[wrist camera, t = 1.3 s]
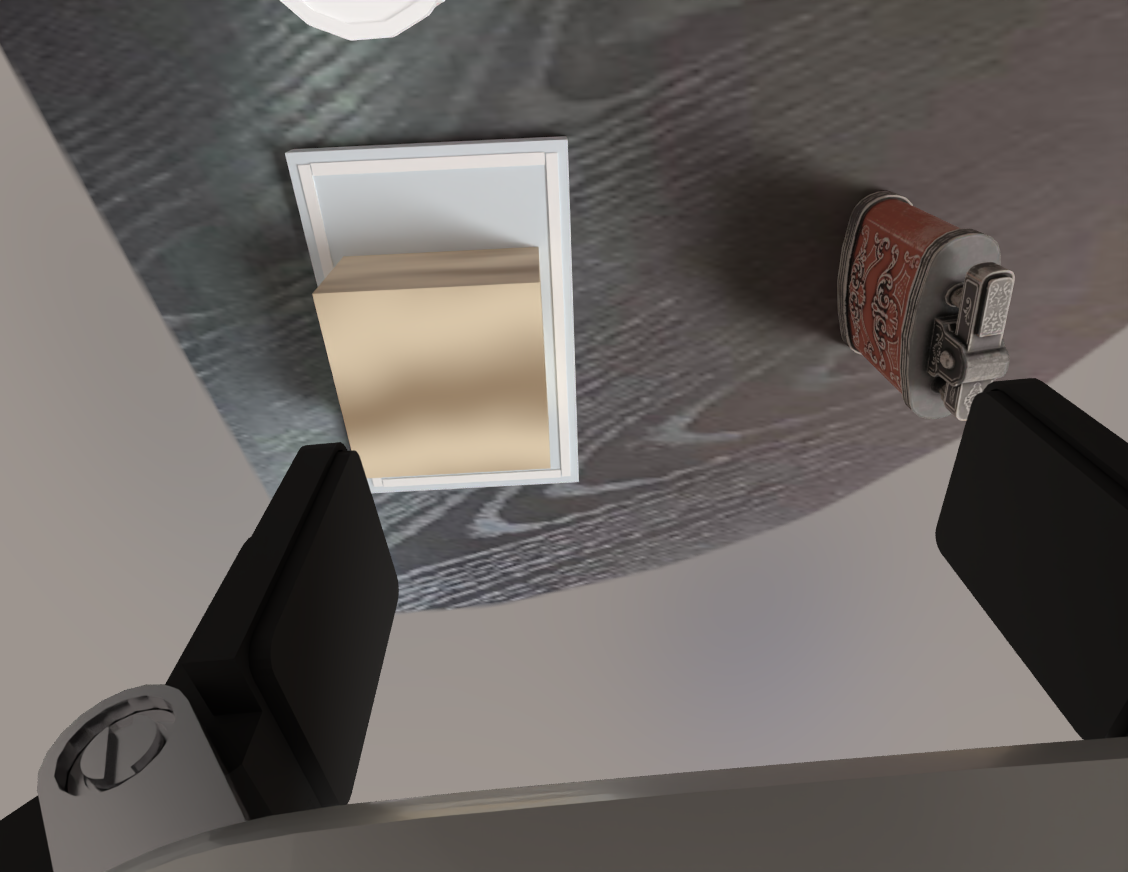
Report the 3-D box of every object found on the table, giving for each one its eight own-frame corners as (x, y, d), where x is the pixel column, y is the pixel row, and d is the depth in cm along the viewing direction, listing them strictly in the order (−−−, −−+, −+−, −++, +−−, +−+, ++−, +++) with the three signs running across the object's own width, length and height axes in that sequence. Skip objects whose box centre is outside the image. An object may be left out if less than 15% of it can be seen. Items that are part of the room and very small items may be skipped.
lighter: (896, 342, 35) (1013, 444, 26) (832, 352, 35) (928, 456, 26) (916, 185, 31) (1063, 245, 22) (843, 197, 31) (961, 262, 22)
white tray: (292, 149, 29) (283, 153, 28) (566, 136, 29) (567, 139, 28) (371, 482, 38) (367, 494, 37) (577, 471, 38) (578, 483, 37)
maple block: (343, 256, 30) (312, 294, 26) (538, 246, 30) (539, 282, 26) (379, 423, 35) (358, 478, 31) (548, 415, 35) (550, 468, 31)
